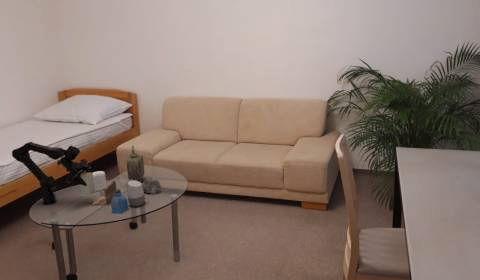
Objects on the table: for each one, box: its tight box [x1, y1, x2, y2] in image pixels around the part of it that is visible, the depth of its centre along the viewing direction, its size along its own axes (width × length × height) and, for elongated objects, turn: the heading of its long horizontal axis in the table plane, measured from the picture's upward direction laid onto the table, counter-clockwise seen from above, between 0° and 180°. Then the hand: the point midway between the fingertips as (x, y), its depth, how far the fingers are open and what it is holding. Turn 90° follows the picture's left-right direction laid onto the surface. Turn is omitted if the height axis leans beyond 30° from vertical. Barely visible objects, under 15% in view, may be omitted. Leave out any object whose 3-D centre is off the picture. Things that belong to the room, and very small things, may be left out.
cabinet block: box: [79, 172, 96, 197], centre depth 249 cm, size 6×6×12 cm
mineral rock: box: [141, 176, 162, 195], centre depth 265 cm, size 13×11×10 cm
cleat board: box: [91, 180, 117, 206], centre depth 254 cm, size 10×14×10 cm
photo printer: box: [92, 170, 108, 192], centre depth 273 cm, size 10×4×12 cm, turn 124°
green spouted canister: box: [125, 145, 145, 181], centre depth 282 cm, size 14×9×25 cm, turn 6°
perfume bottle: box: [110, 188, 129, 214], centre depth 238 cm, size 6×6×12 cm
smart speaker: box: [127, 179, 146, 208], centre depth 245 cm, size 10×9×14 cm
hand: (89, 183), depth 249 cm, fingers closed on cabinet block, 5 cm apart
